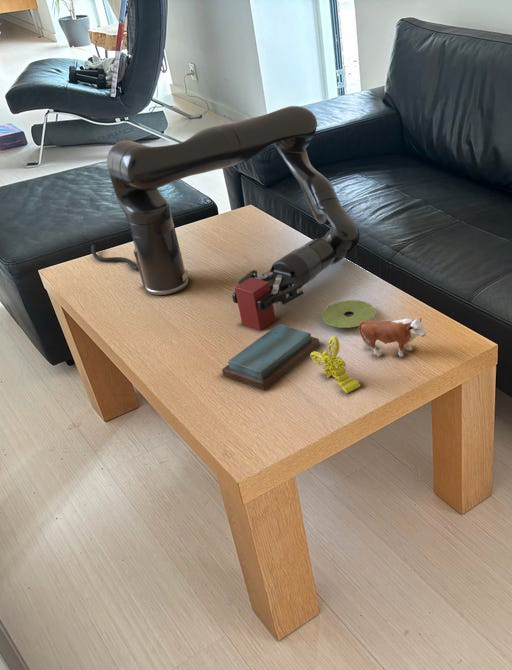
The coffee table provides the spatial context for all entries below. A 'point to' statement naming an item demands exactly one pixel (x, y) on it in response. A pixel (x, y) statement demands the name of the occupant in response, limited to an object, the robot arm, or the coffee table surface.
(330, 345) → the decorative insect
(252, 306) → the pillar block
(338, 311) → the mat
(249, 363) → the blue-grey flat block
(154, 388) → the coffee table surface
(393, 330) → the bull figurine
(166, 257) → the robot arm
